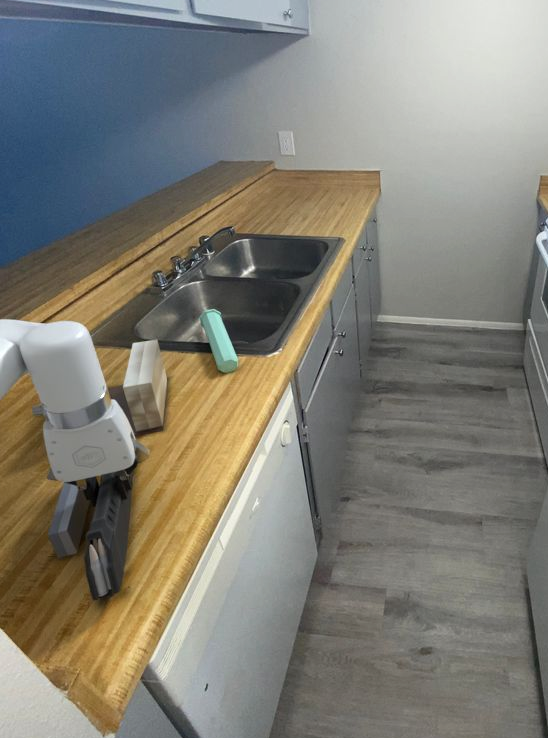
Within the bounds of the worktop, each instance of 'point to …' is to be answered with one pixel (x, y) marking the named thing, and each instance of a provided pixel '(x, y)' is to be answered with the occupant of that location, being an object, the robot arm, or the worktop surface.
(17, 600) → the worktop surface
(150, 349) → the book rack
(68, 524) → the blue-grey rectangular block
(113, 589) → the magazine
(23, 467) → the worktop surface
